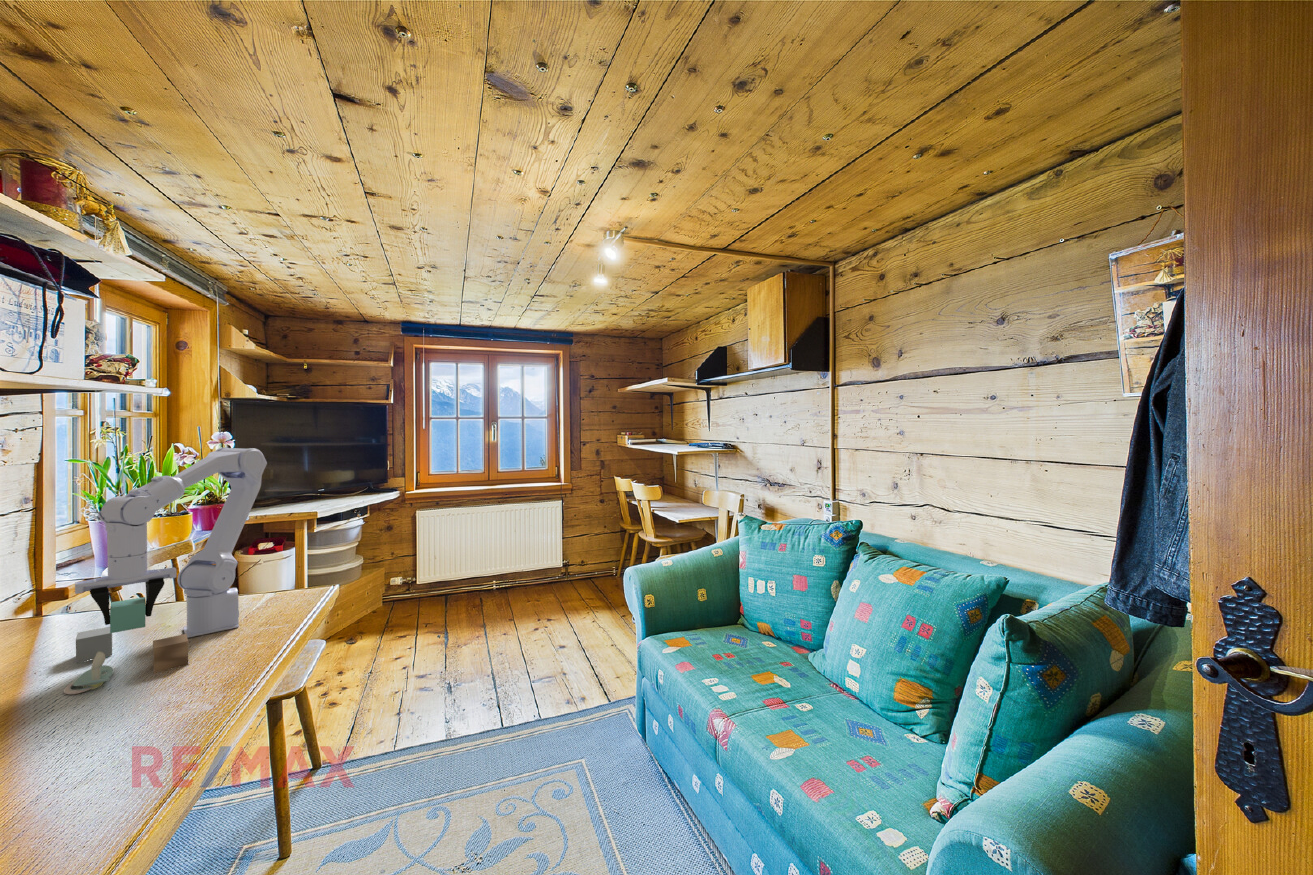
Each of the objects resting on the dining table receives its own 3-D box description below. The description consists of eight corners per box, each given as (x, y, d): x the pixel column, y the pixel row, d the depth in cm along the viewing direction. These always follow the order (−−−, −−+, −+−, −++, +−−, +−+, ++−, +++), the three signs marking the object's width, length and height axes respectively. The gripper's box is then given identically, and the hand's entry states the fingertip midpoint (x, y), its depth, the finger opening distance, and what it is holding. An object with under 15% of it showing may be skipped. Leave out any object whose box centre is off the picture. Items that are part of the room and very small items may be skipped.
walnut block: (186, 657, 108) (186, 633, 108) (188, 665, 104) (188, 640, 104) (153, 664, 104) (152, 640, 104) (154, 673, 101) (153, 648, 101)
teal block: (145, 620, 110) (145, 596, 109) (145, 626, 106) (145, 602, 106) (111, 626, 106) (111, 602, 106) (110, 633, 103) (110, 608, 102)
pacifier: (59, 701, 91) (108, 689, 95) (56, 667, 90) (106, 656, 94) (69, 684, 96) (115, 674, 100) (67, 652, 96) (113, 643, 100)
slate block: (112, 648, 111) (112, 626, 111) (111, 656, 108) (111, 632, 107) (77, 655, 108) (77, 632, 107) (76, 664, 104) (75, 639, 104)
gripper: (172, 545, 114) (172, 605, 114) (73, 557, 103) (74, 624, 103) (177, 550, 109) (178, 613, 110) (75, 564, 98) (76, 633, 99)
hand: (128, 619), depth 106 cm, fingers closed on teal block, 5 cm apart
